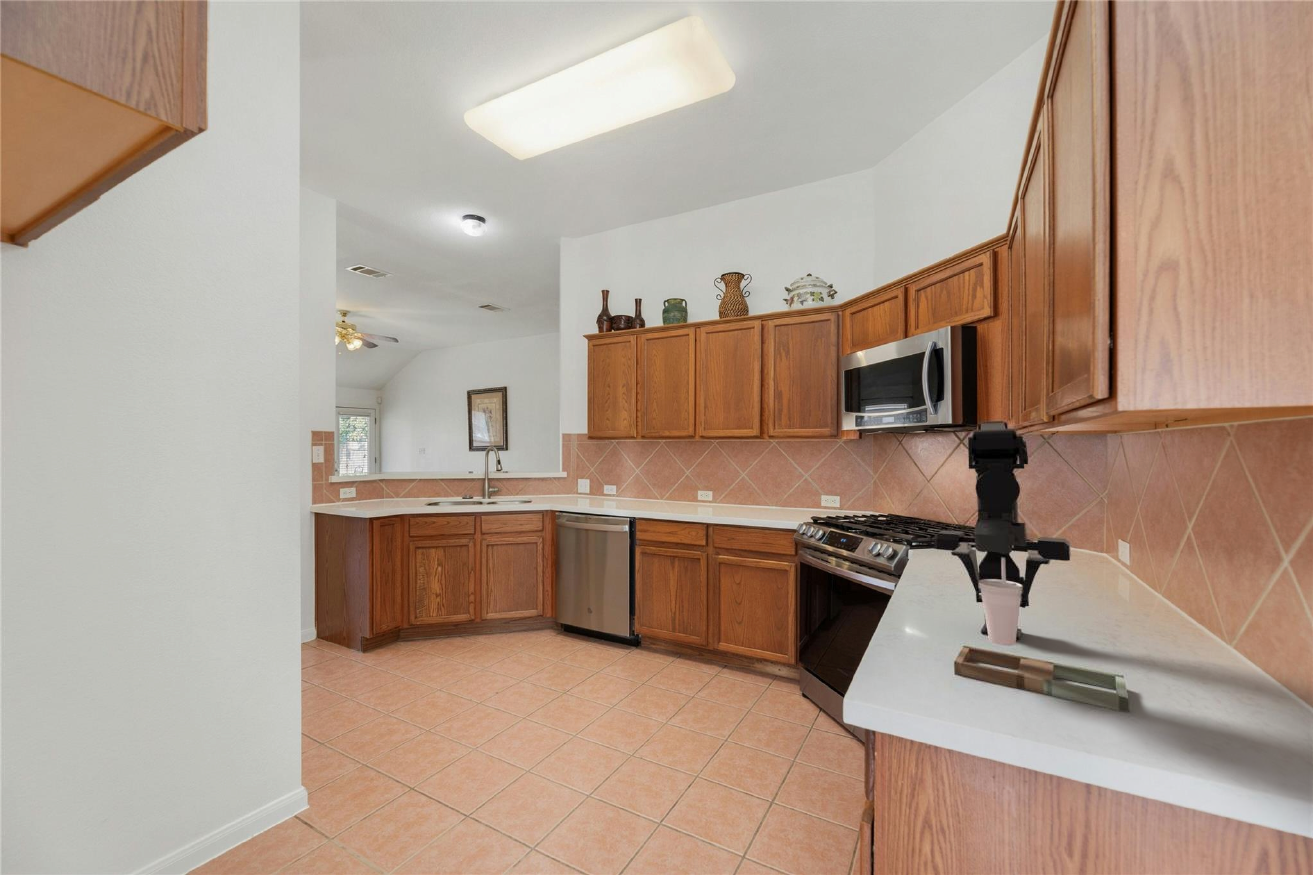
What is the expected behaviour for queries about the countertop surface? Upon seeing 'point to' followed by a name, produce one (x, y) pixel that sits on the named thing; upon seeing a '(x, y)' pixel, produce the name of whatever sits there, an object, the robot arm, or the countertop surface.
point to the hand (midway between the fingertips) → (1001, 596)
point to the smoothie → (1001, 607)
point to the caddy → (1044, 677)
